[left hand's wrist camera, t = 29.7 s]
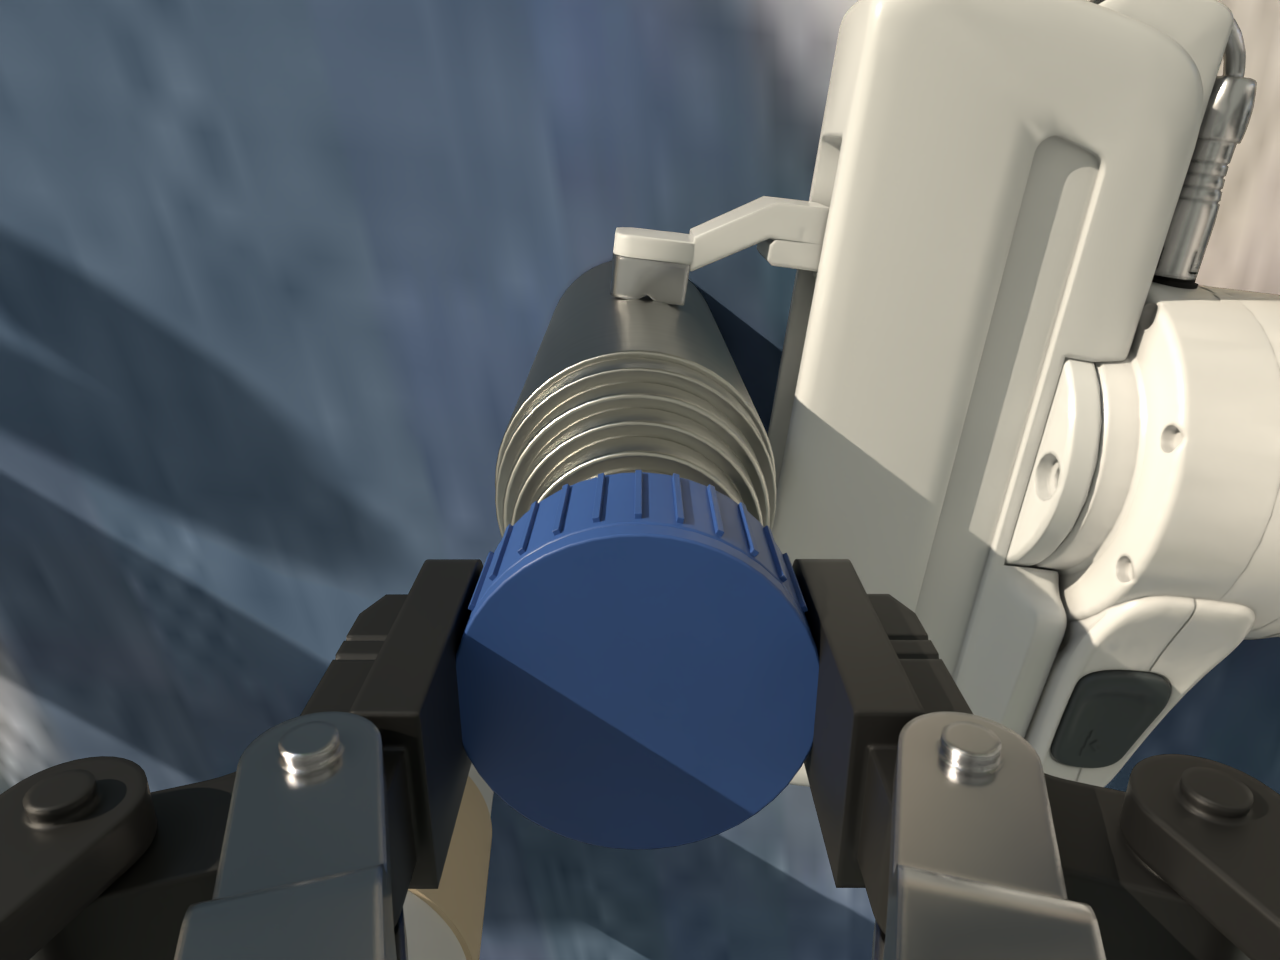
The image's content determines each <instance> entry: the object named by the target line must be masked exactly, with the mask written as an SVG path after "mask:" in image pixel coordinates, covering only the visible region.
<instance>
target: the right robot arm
mask: <svg viewBox="0 0 1280 960" xmlns="http://www.w3.org/2000/svg"><path fill="white" fill-rule="evenodd" d="M1222 58H1223V60H1224V65H1223V76H1217V73H1218V70H1219V67H1220V64H1221V61H1222ZM1245 61H1246V52H1245V45H1244V40H1243V36H1242V33H1241V30H1240V28H1239V26H1238V24H1237V22H1236V20H1235V19H1234V17H1233V15H1232V12H1231V10H1230V9H1229V8H1228V7H1226V6H1225V5H1224V4H1222V3H1220V2H1218V1H1217V0H1091V1H1086V0H859V1H858V2H857V3H856V4H854V5H853V6H852V7H851V8H850V9H849V10H848V11H847V13H846V14H845V15H844V17H843V20H842V22H841V25H840V29H839V35H838V40H837V45H836V51H835V56H834V62H833V68H832V73H831V79H830V85H829V90H828V96H827V102H826V107H825V113H824V119H823V124H822V130H821V136H820V141H819V147H818V153H817V158H816V164H815V170H814V175H813V181H812V187H811V192H810V198H809V201H802V200H793V199H784V198H776V197H767V196H763V197H761V198H758V199H756V200H754V201H752V202H749V203H747V204H745V205H743V206H741V207H738V208H736V209H734V210H732V211H729V212H727V213H725V214H723V215H721V216H718V217H716V218H714V219H712V220H709V221H707V222H705V223H703V224H701V225H698V226H696V227H694V228H692V229H690V234H683V233H675V232H666V231H658V230H649V229H641V228H623V227H621V228H616V232H615V241H614V250H613V260H612V272H611V284H610V295H612V296H614V297H618V298H623V299H640V298H642V297H644V296H646V295H648V296H649V297H650V298H652V299H653V300H654V301H656V302H660V303H665V304H673V305H682V306H684V301H685V295H686V288H687V282H688V275H689V269H690V271H694V270H696V269H698V268H701V267H703V266H705V265H708V264H710V263H712V262H715V261H717V260H720V259H722V258H724V257H727V256H729V255H731V254H734V253H736V252H739V251H741V250H743V249H746V248H748V247H750V246H753V245H755V244H757V250H758V251H759V253H760V254H761V255H762V256H763V257H764V258H765V259H766V260H767V261H768V262H769V263H770V264H771V265H772V266H780V267H787V268H794V269H797V271H796V277H795V283H794V288H793V294H792V300H791V305H790V311H789V317H788V322H787V328H786V334H785V339H784V345H783V351H782V356H781V362H780V368H779V373H778V379H777V385H776V390H775V396H774V401H773V407H772V413H771V418H770V424H769V430H768V435H767V436H768V438H769V441H770V444H771V448H772V452H773V456H774V461H775V470H776V490H777V496H776V512H775V518H774V524H773V527H772V534H773V537H774V540H775V542H776V544H777V545H778V547H779V549H780V550H781V552H782V554H784V553H787V554H788V556H789V558H790V561H791V564H792V566H793V562H794V560H795V559H849V560H850V561H851V563H852V565H853V567H854V569H855V571H856V573H857V575H858V577H859V579H860V581H861V583H862V585H863V587H864V589H865V591H866V593H867V594H890V595H891V596H892V597H894V598H895V599H897V600H898V601H899V602H901V603H902V604H903V605H905V606H906V607H908V608H909V609H910V610H912V611H913V612H914V613H916V615H917V617H918V619H919V620H920V622H921V624H922V626H923V627H924V629H925V631H926V633H927V634H928V640H931V641H932V643H933V645H934V646H935V648H936V650H937V652H938V653H939V659H942V660H943V662H944V664H945V666H946V667H947V669H948V671H949V673H950V674H951V676H952V678H953V680H954V681H955V683H956V685H957V687H958V688H959V690H960V692H961V693H962V695H963V697H964V699H965V700H966V702H967V704H968V706H969V707H970V709H971V711H972V713H973V714H974V715H978V716H981V717H984V718H988V719H990V720H993V721H995V722H998V723H1000V724H1002V725H1004V726H1006V727H1008V728H1010V729H1011V730H1013V731H1014V732H1016V733H1017V734H1019V735H1020V736H1022V737H1023V738H1024V739H1025V740H1026V741H1027V742H1029V744H1030V745H1031V746H1032V747H1033V748H1034V749H1035V751H1036V752H1037V754H1038V756H1039V757H1040V760H1041V763H1042V766H1043V771H1044V773H1046V774H1049V775H1052V776H1055V777H1059V778H1063V779H1067V780H1071V781H1076V782H1081V783H1085V784H1090V785H1095V786H1099V787H1104V786H1106V785H1107V784H1108V783H1109V782H1110V781H1111V780H1112V779H1113V778H1114V777H1115V775H1116V774H1117V773H1118V772H1119V771H1120V770H1121V768H1122V767H1123V766H1124V765H1125V763H1126V762H1127V761H1128V760H1129V758H1130V757H1131V756H1132V755H1133V753H1134V752H1135V751H1136V750H1137V748H1138V747H1139V746H1140V745H1141V744H1142V742H1143V741H1144V740H1145V739H1146V738H1147V736H1148V735H1149V734H1150V733H1151V732H1152V730H1153V729H1154V728H1155V727H1156V726H1157V725H1158V724H1159V722H1160V721H1161V720H1162V719H1163V718H1164V717H1165V716H1166V715H1167V713H1168V712H1169V711H1170V710H1171V709H1172V708H1173V707H1174V706H1175V705H1176V704H1177V703H1178V702H1179V701H1180V699H1181V698H1182V697H1183V696H1184V695H1185V694H1186V693H1187V692H1188V691H1189V690H1190V689H1191V688H1192V687H1193V686H1194V685H1195V684H1196V683H1197V682H1199V681H1200V680H1201V679H1202V678H1203V677H1204V676H1205V675H1206V674H1207V673H1208V672H1209V671H1210V670H1212V669H1213V668H1214V667H1215V666H1216V665H1217V664H1218V663H1220V662H1221V661H1222V660H1223V659H1224V658H1225V657H1227V656H1228V655H1229V654H1230V653H1231V652H1232V651H1233V650H1234V649H1235V648H1236V647H1237V646H1238V645H1239V644H1240V643H1241V642H1242V641H1243V640H1253V639H1263V638H1271V637H1280V295H1276V294H1268V293H1259V292H1251V291H1242V290H1234V289H1226V288H1217V287H1209V286H1203V285H1198V284H1196V283H1195V280H1196V277H1197V274H1198V271H1199V268H1200V265H1201V263H1202V260H1203V257H1204V254H1205V251H1206V248H1207V245H1208V242H1209V239H1210V236H1211V233H1212V230H1213V227H1214V224H1215V221H1216V217H1217V213H1218V210H1219V206H1220V204H1218V202H1219V201H1220V200H1221V196H1222V192H1221V191H1220V190H1221V189H1223V186H1224V182H1225V179H1223V178H1224V176H1226V174H1227V170H1228V166H1227V165H1228V164H1229V163H1230V161H1231V159H1232V156H1233V153H1234V150H1235V148H1236V145H1237V144H1240V143H1241V141H1242V139H1243V137H1244V134H1245V132H1246V130H1247V127H1248V124H1249V121H1250V118H1251V115H1252V111H1253V107H1254V102H1255V96H1256V85H1257V82H1256V80H1254V79H1251V78H1244V72H1245ZM789 784H792V785H799V786H809V787H810V785H809V781H808V777H807V773H806V769H805V765H804V763H803V765H802V767H801V768H800V770H799V771H798V772H797V774H796V775H795V776H794V778H793V779H792V780H791V782H790V783H789Z"/></svg>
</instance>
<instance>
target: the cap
mask: <svg viewBox="0 0 1280 960" xmlns="http://www.w3.org/2000/svg"><path fill="white" fill-rule="evenodd" d="M468 609H469V610H471V614H470V617H469V620H468V622H467V625H466V628H465V631H464V633H463V636H462V639H461V642H460V644H459V647H458V650H457V653H456V673H457V685H458V696H459V708H460V720H461V731H462V742H463V747H464V749H465V751H466V753H467V756H468V757H469V759H470V761H471V762H472V764H473V765H474V767H475V769H476V770H477V772H478V774H479V775H480V776H481V777H482V779H483V780H484V781H485V782H486V783H487V785H488V786H489V787H490V788H491V789H492V791H494V792H495V793H496V794H497V795H498V796H499V797H500V798H501V799H502V800H503V801H504V802H505V803H506V804H507V805H509V806H510V807H511V808H513V809H514V810H516V811H517V812H518V813H520V814H521V815H522V816H524V817H525V818H527V819H529V820H530V821H532V822H534V823H536V824H537V825H539V826H541V827H543V828H545V829H547V830H549V831H552V832H554V833H556V834H559V835H561V836H563V837H566V838H569V839H573V840H576V841H579V842H583V843H586V844H591V845H596V846H602V847H607V848H617V849H629V850H639V849H659V848H667V847H676V846H680V845H684V844H689V843H693V842H697V841H700V840H703V839H706V838H709V837H712V836H715V835H718V834H720V833H722V832H724V831H726V830H728V829H730V828H733V827H735V826H737V825H739V824H740V823H742V822H744V821H745V820H747V819H748V818H750V817H752V816H753V815H755V814H756V813H758V812H759V811H760V810H762V809H763V808H764V807H765V806H767V805H768V804H769V803H770V802H772V801H773V800H774V799H775V798H776V797H777V796H778V795H779V794H780V793H781V792H782V791H783V790H784V789H785V788H786V787H787V785H788V784H789V783H790V782H791V780H792V779H793V778H794V776H795V775H796V774H797V772H798V771H799V770H800V768H801V767H802V765H803V763H804V761H805V759H806V758H807V756H808V754H809V752H810V750H811V748H812V745H813V735H814V723H815V711H816V699H817V687H818V675H819V654H818V650H817V647H816V644H815V641H814V638H813V635H812V632H811V629H810V627H809V624H808V621H807V618H806V615H805V612H806V611H808V609H807V606H806V603H805V600H804V598H803V595H802V592H801V589H800V586H799V584H798V581H797V578H796V575H795V572H794V570H793V567H792V564H791V561H790V558H789V556H788V554H787V553H784V554H782V552H781V550H780V549H779V547H778V545H777V544H776V542H775V540H774V537H773V534H772V531H771V529H770V528H769V526H768V525H766V526H765V527H763V525H762V524H761V523H760V522H759V521H758V520H757V519H756V518H755V517H754V516H752V515H751V514H750V513H749V512H748V511H747V509H746V505H745V504H743V503H742V502H740V503H739V504H738V503H736V502H735V501H733V500H732V499H730V498H729V497H727V496H725V495H724V494H722V493H720V492H718V491H716V490H715V487H714V486H712V485H710V484H709V485H708V486H705V485H702V484H699V483H697V482H694V481H691V480H688V479H684V478H680V476H679V474H675V473H673V476H671V475H666V474H656V473H646V472H642V470H635V473H618V474H612V475H605V474H604V473H601V474H598V477H596V478H592V479H588V480H585V481H581V482H578V483H576V484H574V485H571V486H569V484H566V485H563V487H562V490H559V491H558V492H556V493H554V494H552V495H551V496H549V497H547V498H546V499H544V500H542V501H541V502H539V503H538V502H537V501H535V502H534V503H532V504H531V508H530V510H529V511H528V512H526V513H525V514H524V515H523V516H522V517H521V518H520V519H519V520H518V521H517V522H516V523H515V524H514V525H513V526H512V525H511V524H509V525H508V526H507V527H506V530H505V533H504V535H503V538H502V541H501V542H500V543H499V545H498V547H497V549H496V550H495V552H494V553H493V552H491V551H490V552H489V554H488V556H487V559H486V561H485V564H484V567H483V569H482V572H481V575H480V577H479V580H478V583H477V585H476V588H475V591H474V593H473V596H472V599H471V601H470V604H469V607H468Z"/></svg>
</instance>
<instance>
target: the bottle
mask: <svg viewBox="0 0 1280 960" xmlns="http://www.w3.org/2000/svg"><path fill="white" fill-rule="evenodd" d="M611 272H612V261H609V262H606V263H603V264H600V265H598V266H596V267H594V268H592V269H590V270H589V271H587V272H586V273H584V274H582V275H581V276H580V277H579V278H578V279H577V280H575V281H574V282H573V283H572V284H571V285H570V287H569V288H568V289H567V290H566V291H565V293H564V294H563V296H562V297H561V299H560V301H559V303H558V305H557V307H556V309H555V311H554V313H553V316H552V318H551V321H550V323H549V326H548V328H547V331H546V333H545V336H544V338H543V341H542V343H541V345H540V348H539V350H538V353H537V355H536V358H535V360H534V363H533V365H532V368H531V370H530V372H529V375H528V377H527V380H526V382H525V385H524V387H523V390H522V392H521V395H520V397H519V400H518V402H517V404H516V407H515V409H514V412H513V414H512V417H511V419H510V422H509V424H508V427H507V429H506V431H505V434H504V437H503V440H502V443H501V446H500V449H499V453H498V458H497V464H496V475H495V488H496V496H495V503H496V513H497V520H498V524H499V528H500V532H501V535H502V538H503V535H504V533H505V530H506V527H507V526H508V525H509V524H511V525H512V526H513V525H514V524H515V523H516V522H517V521H518V520H519V519H520V518H521V517H522V516H523V515H524V514H525V513H526V512H528V511H529V510H530V508H531V504H532V503H534V502H535V501H537V502H538V503H539V502H541V501H542V500H544V499H546V498H547V497H549V496H551V495H552V494H554V493H556V492H558V491H559V490H562V487H563V485H566V484H569V486H571V485H574V484H576V483H578V482H581V481H585V480H588V479H592V478H596V477H598V474H601V473H604V474H605V475H612V474H618V473H635V470H642V472H646V473H656V474H666V475H671V476H673V473H675V474H679V476H680V478H684V479H688V480H691V481H694V482H697V483H699V484H702V485H705V486H708V485H709V484H710V485H712V486H714V487H715V490H716V491H718V492H720V493H722V494H724V495H725V496H727V497H729V498H730V499H732V500H733V501H735V502H736V503H738V504H739V503H740V502H742V503H743V504H745V505H746V509H747V511H748V512H749V513H750V514H751V515H752V516H754V517H755V518H756V519H757V520H758V521H759V522H760V523H761V524H762V525H763V527H765V526H766V525H768V526H769V528H770V529H771V531H772V527H773V524H774V518H775V512H776V496H777V490H776V470H775V461H774V456H773V452H772V448H771V444H770V441H769V438H768V436H767V433H766V431H765V429H764V426H763V424H762V422H761V420H760V417H759V415H758V413H757V411H756V409H755V407H754V404H753V402H752V400H751V398H750V396H749V394H748V391H747V389H746V387H745V385H744V383H743V381H742V378H741V376H740V374H739V372H738V370H737V368H736V365H735V363H734V361H733V359H732V357H731V355H730V352H729V350H728V348H727V346H726V344H725V341H724V339H723V337H722V335H721V333H720V331H719V328H718V326H717V324H716V322H715V320H714V318H713V315H712V313H711V311H710V309H709V307H708V305H707V303H706V301H705V299H704V298H703V296H702V294H701V293H700V292H699V290H698V289H697V288H696V287H695V285H694V284H693V283H691V282H690V281H689V280H688V282H687V288H686V295H685V301H684V306H682V305H673V304H665V303H660V302H656V301H654V300H653V299H652V298H650V297H649V296H648V295H646V296H644V297H642V298H640V299H623V298H618V297H614V296H612V295H610V284H611Z"/></svg>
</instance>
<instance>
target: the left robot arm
mask: <svg viewBox="0 0 1280 960" xmlns="http://www.w3.org/2000/svg"><path fill="white" fill-rule="evenodd" d="M792 567H793V570H794V572H795V575H796V578H797V581H798V584H799V586H800V589H801V592H802V595H803V598H804V600H805V603H806V606H807V609H808V611H806V612H805V615H806V618H807V621H808V624H809V627H810V629H811V632H812V635H813V638H814V641H815V644H816V647H817V650H818V654H819V675H818V687H817V699H816V711H815V723H814V735H813V745H812V748H811V750H810V752H809V754H808V756H807V758H806V759H805V761H804V765H805V769H806V773H807V777H808V781H809V785H810V789H811V792H812V796H813V800H814V804H815V808H816V812H817V815H818V819H819V823H820V827H821V831H822V835H823V839H824V842H825V846H826V850H827V854H828V858H829V862H830V866H831V869H832V873H833V877H834V881H835V885H836V888H866V891H867V894H868V898H869V901H870V904H871V908H872V911H873V914H874V917H875V927H874V934H873V946H872V960H1280V795H1279V794H1278V793H1276V792H1275V791H1273V790H1272V789H1271V788H1269V787H1268V786H1266V785H1265V784H1263V783H1261V782H1260V781H1258V780H1257V779H1255V778H1253V777H1251V776H1249V775H1247V774H1246V773H1244V772H1242V771H1239V770H1237V769H1235V768H1232V767H1230V766H1227V765H1225V764H1222V763H1219V762H1216V761H1212V760H1209V759H1205V758H1201V757H1195V756H1190V755H1180V754H1162V755H1156V756H1152V757H1149V758H1146V759H1143V760H1142V761H1140V762H1139V763H1137V764H1136V766H1135V767H1134V768H1133V769H1132V772H1131V775H1130V778H1129V782H1128V786H1127V790H1126V792H1123V791H1118V790H1114V789H1109V788H1104V787H1099V786H1095V785H1090V784H1085V783H1081V782H1076V781H1071V780H1067V779H1063V778H1059V777H1055V776H1052V775H1049V774H1046V773H1044V771H1043V766H1042V763H1041V760H1040V757H1039V756H1038V754H1037V752H1036V751H1035V749H1034V748H1033V747H1032V746H1031V745H1030V744H1029V742H1027V741H1026V740H1025V739H1024V738H1023V737H1022V736H1020V735H1019V734H1017V733H1016V732H1014V731H1013V730H1011V729H1010V728H1008V727H1006V726H1004V725H1002V724H1000V723H998V722H995V721H993V720H990V719H988V718H984V717H981V716H978V715H974V714H973V713H972V711H971V709H970V707H969V706H968V704H967V702H966V700H965V699H964V697H963V695H962V693H961V692H960V690H959V688H958V687H957V685H956V683H955V681H954V680H953V678H952V676H951V674H950V673H949V671H948V669H947V667H946V666H945V664H944V662H943V660H942V659H939V653H938V652H937V650H936V648H935V646H934V645H933V643H932V641H931V640H928V634H927V633H926V631H925V629H924V627H923V626H922V624H921V622H920V620H919V619H918V617H917V615H916V613H914V612H913V611H912V610H910V609H909V608H908V607H906V606H905V605H903V604H902V603H901V602H899V601H898V600H897V599H895V598H894V597H892V596H891V595H890V594H867V593H866V591H865V589H864V587H863V585H862V583H861V581H860V579H859V577H858V575H857V573H856V571H855V569H854V567H853V565H852V563H851V561H850V560H849V559H795V560H794V562H793V566H792ZM482 569H483V564H482V562H481V560H426V561H425V562H424V564H423V566H422V568H421V570H420V572H419V574H418V576H417V578H416V580H415V582H414V584H413V586H412V588H411V590H410V592H409V594H408V595H385V596H384V597H382V598H381V599H379V600H378V601H377V602H375V603H374V604H373V605H371V606H370V607H368V608H367V609H366V610H364V611H363V612H362V613H360V614H359V616H358V618H357V619H356V621H355V623H354V624H353V626H352V628H351V630H350V631H349V633H348V635H347V640H346V641H344V642H343V643H342V645H341V647H340V648H339V650H338V652H337V654H336V659H335V660H332V662H331V664H330V665H329V667H328V669H327V671H326V672H325V674H324V676H323V677H322V679H321V681H320V683H319V684H318V686H317V688H316V689H315V691H314V693H313V695H312V696H311V698H310V700H309V701H308V703H307V705H306V707H305V708H304V710H303V712H302V713H301V715H300V716H299V717H296V718H293V719H290V720H287V721H285V722H282V723H280V724H278V725H276V726H274V727H272V728H270V729H269V730H267V731H266V732H264V733H263V734H261V735H260V736H258V737H257V738H256V739H255V740H254V741H253V742H251V744H250V745H249V746H248V747H247V748H246V749H245V751H244V752H243V754H242V756H241V757H240V760H239V763H238V766H237V771H236V772H234V773H231V774H228V775H225V776H222V777H219V778H215V779H211V780H207V781H203V782H198V783H193V784H189V785H184V786H179V787H175V788H170V789H165V790H160V791H156V792H151V793H150V789H149V785H148V781H147V777H146V775H145V772H144V770H143V769H142V768H141V767H140V766H139V765H138V764H136V763H134V762H133V761H130V760H127V759H124V758H118V757H105V756H101V757H89V758H84V759H78V760H73V761H70V762H66V763H62V764H59V765H56V766H53V767H50V768H48V769H45V770H43V771H41V772H38V773H36V774H34V775H32V776H30V777H28V778H26V779H24V780H22V781H20V782H19V783H17V784H16V785H14V786H13V787H11V788H10V789H8V790H7V791H5V792H4V793H2V794H1V795H0V960H408V946H407V934H406V927H405V919H404V911H403V905H404V901H405V898H406V895H407V892H408V889H438V887H439V883H440V879H441V876H442V872H443V868H444V864H445V861H446V857H447V853H448V849H449V846H450V842H451V838H452V834H453V831H454V827H455V823H456V819H457V816H458V812H459V808H460V805H461V801H462V797H463V793H464V790H465V786H466V782H467V778H468V775H469V771H470V767H471V763H472V762H471V761H470V759H469V757H468V756H467V753H466V751H465V749H464V747H463V742H462V731H461V720H460V708H459V696H458V685H457V673H456V653H457V650H458V647H459V644H460V642H461V639H462V636H463V633H464V631H465V628H466V625H467V622H468V620H469V617H470V614H471V610H469V609H468V607H469V604H470V601H471V599H472V596H473V593H474V591H475V588H476V585H477V583H478V580H479V577H480V575H481V572H482Z"/></svg>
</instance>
